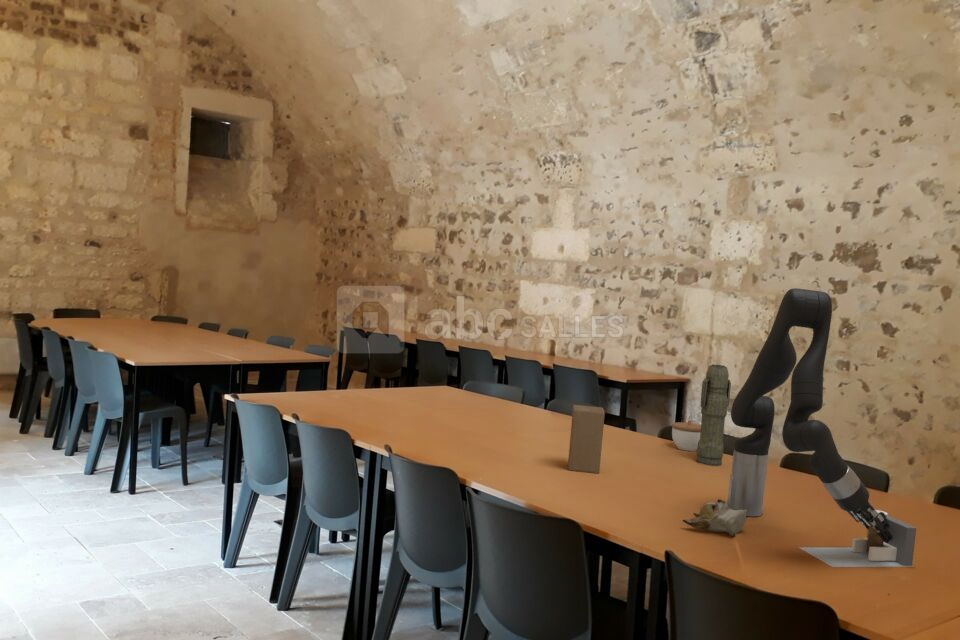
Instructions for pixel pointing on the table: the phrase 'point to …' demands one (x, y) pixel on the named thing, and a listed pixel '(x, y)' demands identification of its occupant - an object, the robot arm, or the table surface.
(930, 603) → the table surface
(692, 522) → the ceramic sculpture
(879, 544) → the dowel
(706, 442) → the olive green tall piece
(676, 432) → the lidded bowl
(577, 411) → the wooden block
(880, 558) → the cradle
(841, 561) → the board with wall
